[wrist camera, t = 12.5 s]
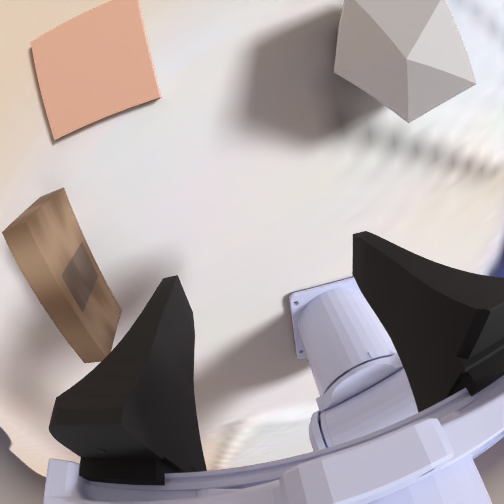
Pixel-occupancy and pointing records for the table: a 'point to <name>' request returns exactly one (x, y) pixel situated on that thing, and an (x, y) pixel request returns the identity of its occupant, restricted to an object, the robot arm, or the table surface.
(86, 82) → the tile
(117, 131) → the table surface
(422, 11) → the die
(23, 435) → the table surface
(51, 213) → the tapered tan wedge
